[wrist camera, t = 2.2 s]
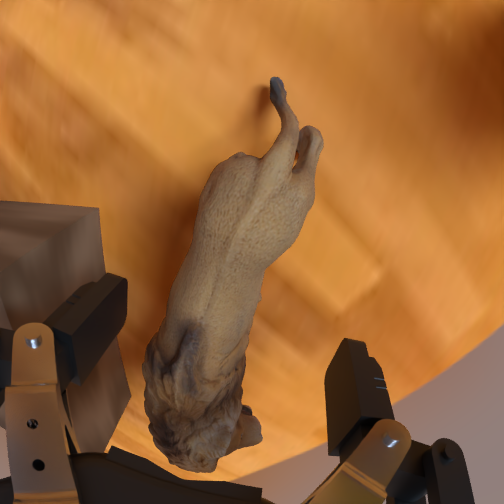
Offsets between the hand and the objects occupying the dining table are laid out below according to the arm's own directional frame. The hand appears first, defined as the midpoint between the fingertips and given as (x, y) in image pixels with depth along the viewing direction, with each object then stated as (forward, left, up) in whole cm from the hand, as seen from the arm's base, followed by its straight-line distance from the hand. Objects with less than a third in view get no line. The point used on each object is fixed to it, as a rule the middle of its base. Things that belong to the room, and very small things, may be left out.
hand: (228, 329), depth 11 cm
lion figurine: (-1, 0, -5) cm, 5 cm away
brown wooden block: (+7, -12, -5) cm, 15 cm away
